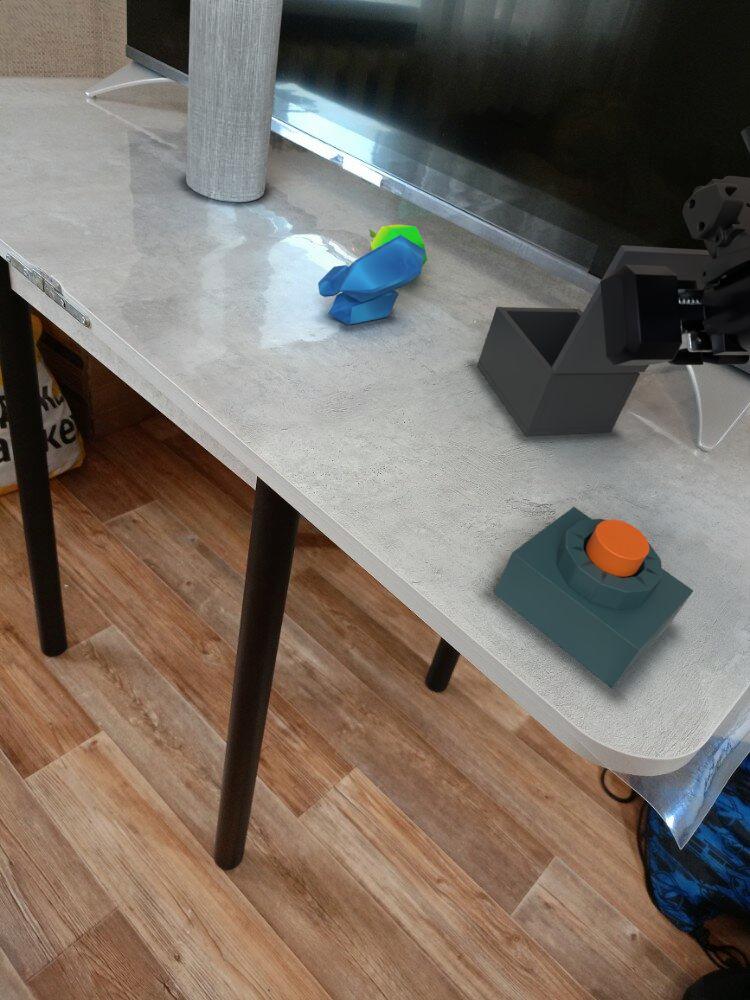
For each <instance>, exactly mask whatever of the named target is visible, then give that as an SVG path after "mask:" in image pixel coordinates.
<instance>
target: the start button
mask: <svg viewBox="0 0 750 1000" xmlns="http://www.w3.org/2000/svg"><path fill="white" fill-rule="evenodd" d="M604 520H605V521H602V522H601V523H599V524H598V525H597V527H596V528H595V530H594V532H593V534H592V536H591V538H590V540H589V541H588V543H587V547H586V551H587V555H588V557H589V559H590V560H591V561H592V562H593V564H594V565H596V566H597V567H598V568H600V569H601V570H603V571H604V572H606V573H608V574H611V575H615V576H618V577H627V576H631V575H633V574H635V573H636V572H637V571H638V569H639V567H640V566H641V564H642V563H643V561H644V559H645V558H646V556H647V555H648V553H649V544H650V542H649V541H648V539H647V538H646V536H645V534H643V533H642V531H641V530H639V529H638V528H637V527H635V526H634V525H632V524H630V523H628V522H626V521H622V520H619V519H604ZM648 542H649V543H648Z"/></svg>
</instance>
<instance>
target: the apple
mask: <svg viewBox="0 0 750 1000" xmlns="http://www.w3.org/2000/svg"><path fill="white" fill-rule="evenodd" d="M368 229H369V230H368V231H369V236H370V238H373V239H372V240H371V243H370V249H371V251H373V250H374V249H376V248H378V247H380V246H382V245H383V244H385V243H387V242H389V241H390V240H392V239H394V238H396V237H397V236H399V235H402V236H404V237H405V238H407V239H408V240H410V241H411V242H413V243H415V244H416V245H418V246H419V247H421V248H423V249H424V250H425V255H424V260H423V265H422V268H423V267H424V265H425V264H426V263H427V261H428V258H427V253H426V247H425V243H424V241H423V239H422V236H421V235H420V234H421V233H420V232H419V229H418V228H417V226H416V225H415V226H414V225H407V224H398V223H397V224H390V225H382V226H381V227H380V229H379V230H378V232H377V233H376V232H375V231H374V230H373V229H372V228H370V227H368Z"/></svg>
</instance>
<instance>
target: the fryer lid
mask: <svg viewBox="0 0 750 1000" xmlns="http://www.w3.org/2000/svg"><path fill="white" fill-rule="evenodd" d="M711 260H714V259H713V258H712V257H711V256H710V254H709V252H708V250H707V249H690V248H674V247H673V248H672V247H671V248H670V247H657V246H640V245H623V244H622V245H620V246H619V249H618V250H617V252H616V253H615V255H614V257H613V259H612V261H611V263H610V264H609V266H608V267H607V269H606V272H605V273H604V275H603V277H604V276H605V275H606V273H608V272H610V271H612V270H615V269H617V268H619V267H621V266H623V265H645V266H666V267H667V268H668V269H669V270H671V271H672V272H673V273H674V274H675V275H677V280H696V281H697V289H700V290H704V287H706V285H707V284H703V283H702V281H701V268H700V265H702V264H704V263H707V262H709V261H711ZM603 277H602V278H601V280H602V279H603ZM582 312H583V313H582V315H581V317H580V319H579V320H578V322H577V324H576V326H575V327H574V329H573V331H572V333H571V334H570V336H569V338H568V340H567V342H566V343H565V345H564V347H563V349H562V350H561V352H560V354H559V356H558V357H557V359H556V361H555V363H554V364H553V366H552V370H553V372H554V373H621V372H639V373H645V372H646V371H647V369H648V367H649V366H650V365H631V366H614V365H613V364H612V363H611V362H610V361H609V360H608V359H607V358H606V347H605V335H604V322H603V309H602V297H601V284H600V283H598V285H597V287H596V288H595V291H594V292H593V294H592V296H591V297H590V300H589V301H588V302H587V305H586V306H585V308H584V310H583V311H582Z"/></svg>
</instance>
